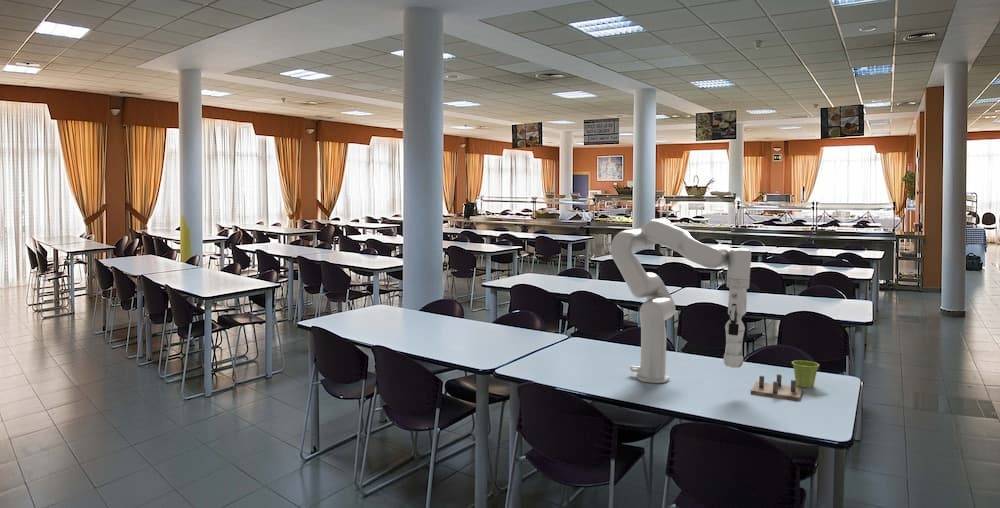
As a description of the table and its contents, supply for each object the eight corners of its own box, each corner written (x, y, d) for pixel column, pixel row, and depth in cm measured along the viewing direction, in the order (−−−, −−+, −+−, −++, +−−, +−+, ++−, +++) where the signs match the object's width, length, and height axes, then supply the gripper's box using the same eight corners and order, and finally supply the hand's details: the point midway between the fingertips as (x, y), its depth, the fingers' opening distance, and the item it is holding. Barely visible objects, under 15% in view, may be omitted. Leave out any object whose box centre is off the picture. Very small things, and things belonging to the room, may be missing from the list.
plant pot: (785, 383, 241) (786, 361, 240) (804, 381, 244) (805, 359, 243) (804, 390, 232) (805, 367, 231) (824, 388, 235) (825, 365, 234)
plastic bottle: (744, 370, 224) (747, 314, 221) (724, 368, 225) (727, 313, 223) (741, 365, 230) (744, 311, 228) (721, 363, 231) (724, 310, 229)
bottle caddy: (750, 393, 228) (751, 379, 228) (756, 384, 239) (756, 371, 239) (799, 400, 220) (800, 386, 220) (802, 391, 231) (803, 377, 231)
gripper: (745, 287, 215) (741, 339, 217) (753, 281, 230) (749, 330, 232) (722, 285, 219) (719, 336, 220) (731, 279, 233) (728, 327, 235)
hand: (734, 332), depth 226 cm, fingers closed on plastic bottle, 6 cm apart
